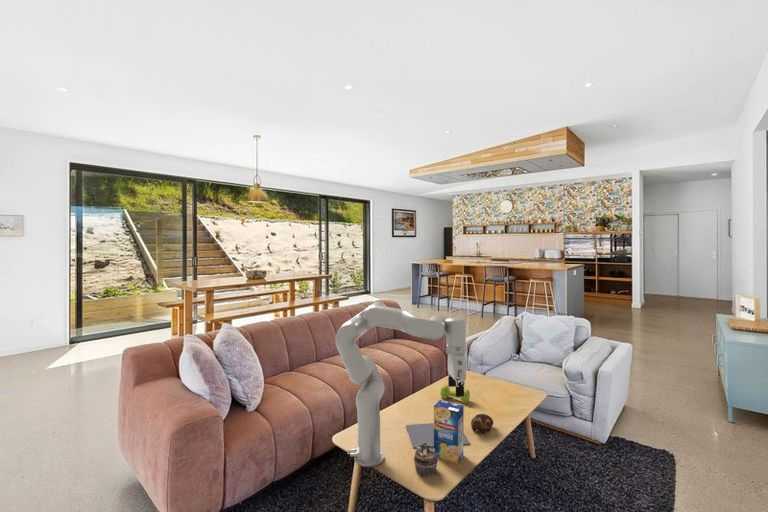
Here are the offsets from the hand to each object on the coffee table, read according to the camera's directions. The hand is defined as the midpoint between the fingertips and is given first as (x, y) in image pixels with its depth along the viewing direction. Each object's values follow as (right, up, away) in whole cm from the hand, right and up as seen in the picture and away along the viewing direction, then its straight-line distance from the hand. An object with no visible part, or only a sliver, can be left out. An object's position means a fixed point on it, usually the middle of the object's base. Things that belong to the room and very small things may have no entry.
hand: (455, 391), depth 149 cm
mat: (-4, -31, +28) cm, 42 cm away
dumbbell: (+12, -29, +66) cm, 73 cm away
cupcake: (-12, -33, +1) cm, 35 cm away
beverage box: (-1, -32, +12) cm, 34 cm away
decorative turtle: (+19, -31, +32) cm, 48 cm away
